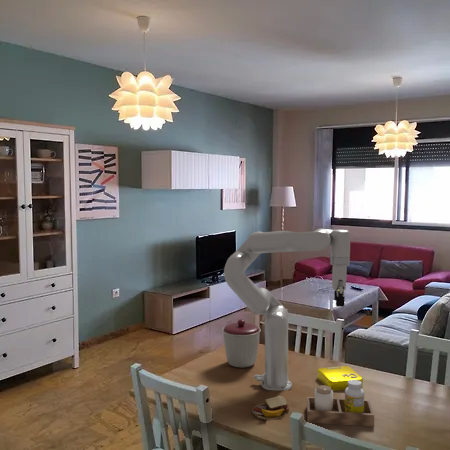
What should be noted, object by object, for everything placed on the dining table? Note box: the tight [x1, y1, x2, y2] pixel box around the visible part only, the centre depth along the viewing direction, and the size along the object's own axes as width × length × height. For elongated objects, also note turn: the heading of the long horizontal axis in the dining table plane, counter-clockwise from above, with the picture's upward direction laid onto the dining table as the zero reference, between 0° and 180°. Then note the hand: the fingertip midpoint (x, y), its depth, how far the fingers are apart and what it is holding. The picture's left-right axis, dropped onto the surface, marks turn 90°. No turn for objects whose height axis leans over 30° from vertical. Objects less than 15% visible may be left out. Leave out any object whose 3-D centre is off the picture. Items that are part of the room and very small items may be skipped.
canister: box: [221, 319, 262, 369], centre depth 225 cm, size 18×18×21 cm
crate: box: [306, 396, 375, 427], centre depth 172 cm, size 22×12×5 cm, turn 82°
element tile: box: [317, 365, 364, 392], centre depth 204 cm, size 15×15×5 cm
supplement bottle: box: [344, 380, 365, 413], centre depth 171 cm, size 7×7×13 cm
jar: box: [314, 384, 334, 412], centre depth 173 cm, size 6×6×10 cm
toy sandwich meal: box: [251, 395, 290, 421], centre depth 177 cm, size 12×14×5 cm
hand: (339, 303), depth 194 cm, fingers open, 9 cm apart
